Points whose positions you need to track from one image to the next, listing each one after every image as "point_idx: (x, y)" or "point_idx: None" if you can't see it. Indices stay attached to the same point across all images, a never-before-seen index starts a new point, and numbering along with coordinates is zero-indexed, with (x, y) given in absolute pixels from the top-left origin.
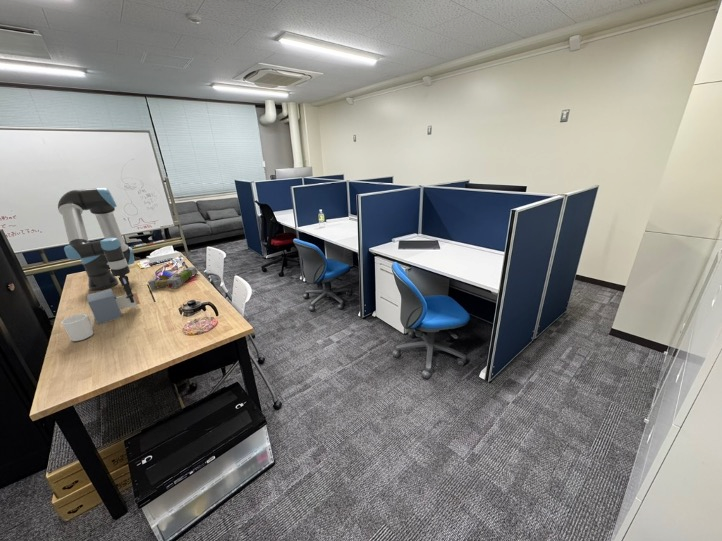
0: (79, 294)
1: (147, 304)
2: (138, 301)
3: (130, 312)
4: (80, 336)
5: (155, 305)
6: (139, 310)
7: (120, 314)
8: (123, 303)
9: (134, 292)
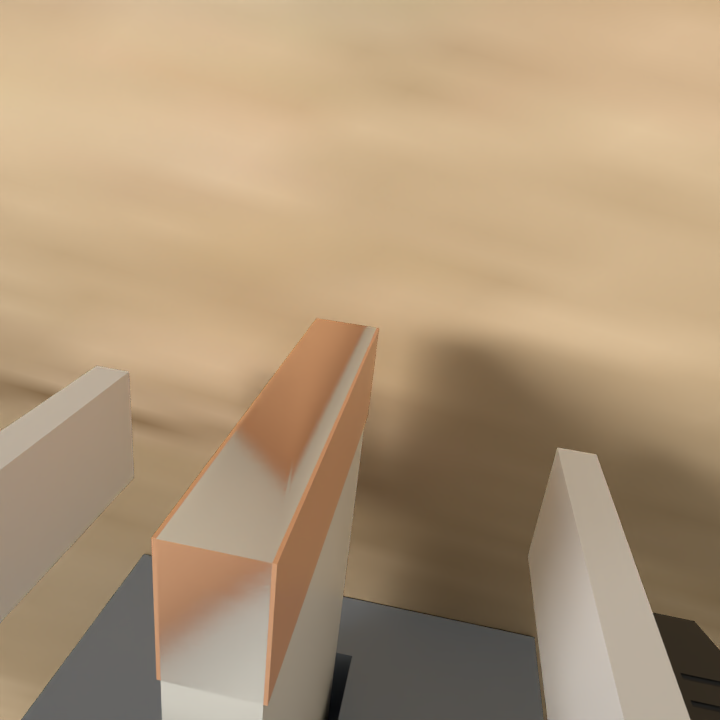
0: None
1: (340, 152)
2: (364, 376)
3: (459, 502)
4: None
5: (607, 11)
6: (529, 374)
7: (536, 692)
8: (318, 688)
9: (193, 599)
